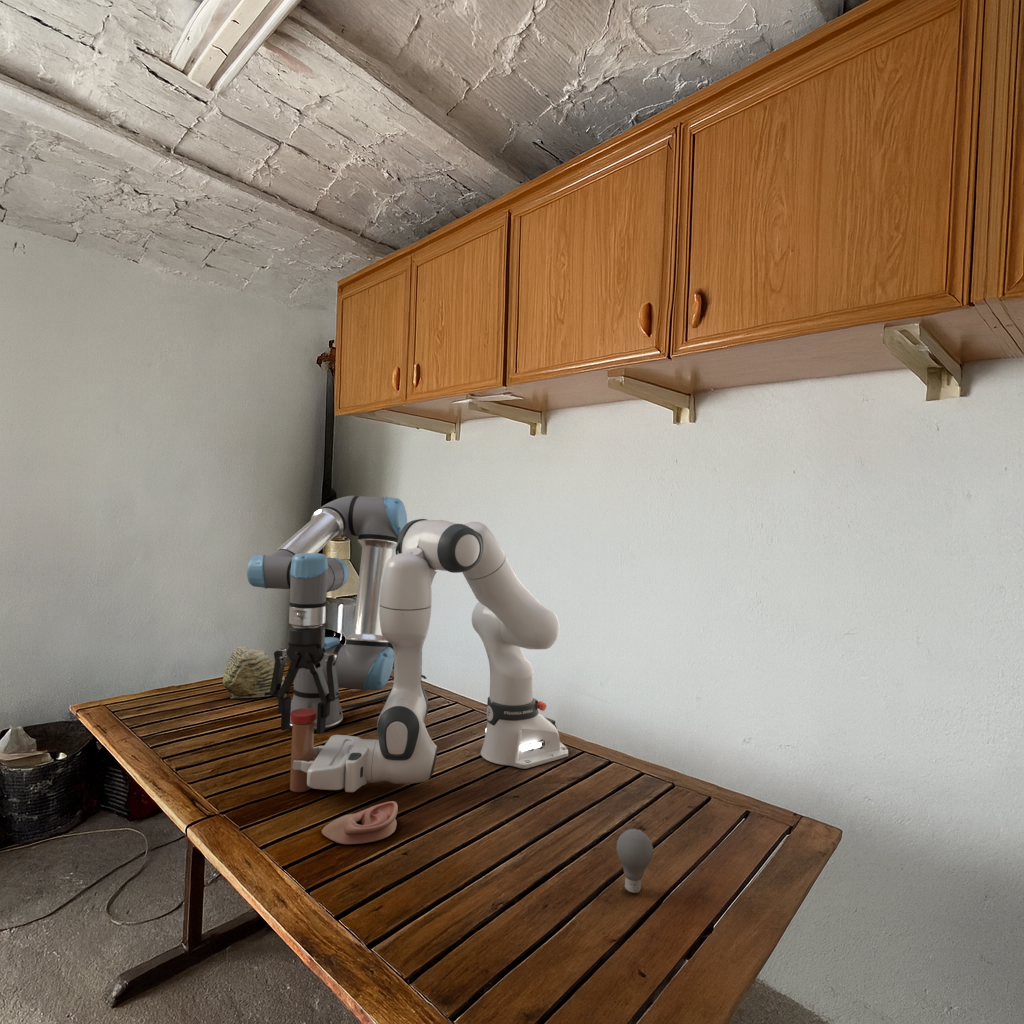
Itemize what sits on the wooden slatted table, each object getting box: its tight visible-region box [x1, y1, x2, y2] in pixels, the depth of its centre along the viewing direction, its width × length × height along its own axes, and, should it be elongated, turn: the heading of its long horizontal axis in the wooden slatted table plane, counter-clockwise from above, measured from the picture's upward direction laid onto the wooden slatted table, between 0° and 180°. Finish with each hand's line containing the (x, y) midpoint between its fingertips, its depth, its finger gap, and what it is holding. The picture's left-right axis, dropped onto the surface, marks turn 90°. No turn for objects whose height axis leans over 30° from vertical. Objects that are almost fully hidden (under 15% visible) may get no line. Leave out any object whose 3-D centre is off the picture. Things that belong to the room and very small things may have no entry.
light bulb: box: [615, 828, 654, 894], centre depth 106 cm, size 6×6×10 cm
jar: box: [289, 721, 315, 793], centre depth 137 cm, size 5×5×16 cm
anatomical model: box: [321, 800, 399, 845], centre depth 121 cm, size 13×4×12 cm
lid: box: [291, 708, 317, 724], centre depth 137 cm, size 5×5×2 cm
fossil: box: [222, 646, 286, 699], centre depth 198 cm, size 9×18×15 cm, turn 132°
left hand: (303, 729), depth 137 cm, fingers open, 7 cm apart
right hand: (297, 758), depth 137 cm, fingers closed on jar, 4 cm apart
